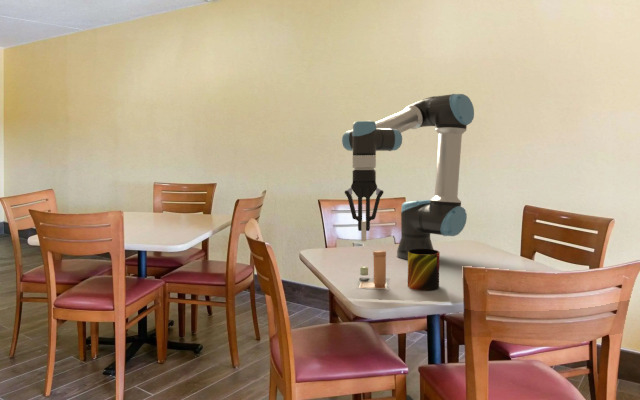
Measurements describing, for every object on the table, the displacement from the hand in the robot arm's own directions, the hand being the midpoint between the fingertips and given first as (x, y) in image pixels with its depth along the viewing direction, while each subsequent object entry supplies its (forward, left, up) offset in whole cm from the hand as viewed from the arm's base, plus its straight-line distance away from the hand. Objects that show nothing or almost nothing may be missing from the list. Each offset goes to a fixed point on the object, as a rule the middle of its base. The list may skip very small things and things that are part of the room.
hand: (363, 240), depth 161 cm
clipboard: (-3, +4, -14) cm, 15 cm away
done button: (0, 0, -12) cm, 12 cm away
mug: (-17, +5, -14) cm, 23 cm away
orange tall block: (-6, +8, -13) cm, 16 cm away
